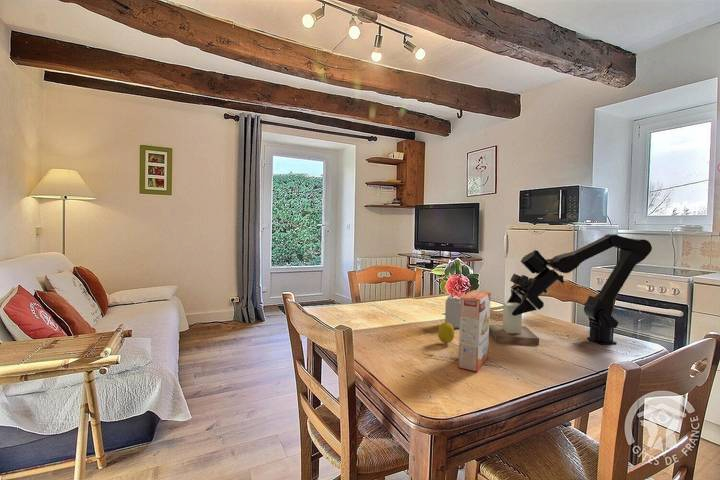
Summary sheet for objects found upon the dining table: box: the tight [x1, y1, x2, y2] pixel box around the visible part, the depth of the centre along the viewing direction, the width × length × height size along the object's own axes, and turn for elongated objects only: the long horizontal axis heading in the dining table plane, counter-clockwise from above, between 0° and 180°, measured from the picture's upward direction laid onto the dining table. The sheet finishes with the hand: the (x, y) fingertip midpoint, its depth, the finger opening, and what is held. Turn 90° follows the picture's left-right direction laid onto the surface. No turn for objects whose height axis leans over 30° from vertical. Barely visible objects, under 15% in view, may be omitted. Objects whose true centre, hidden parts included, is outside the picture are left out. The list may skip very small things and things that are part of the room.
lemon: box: [437, 321, 455, 345], centre depth 121 cm, size 6×6×8 cm
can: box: [444, 295, 461, 329], centre depth 142 cm, size 8×8×12 cm
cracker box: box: [457, 289, 492, 373], centre depth 105 cm, size 14×6×21 cm, turn 148°
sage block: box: [502, 301, 523, 333], centre depth 129 cm, size 5×5×10 cm
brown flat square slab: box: [489, 324, 540, 346], centre depth 129 cm, size 14×14×3 cm
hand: (508, 311), depth 129 cm, fingers open, 9 cm apart
